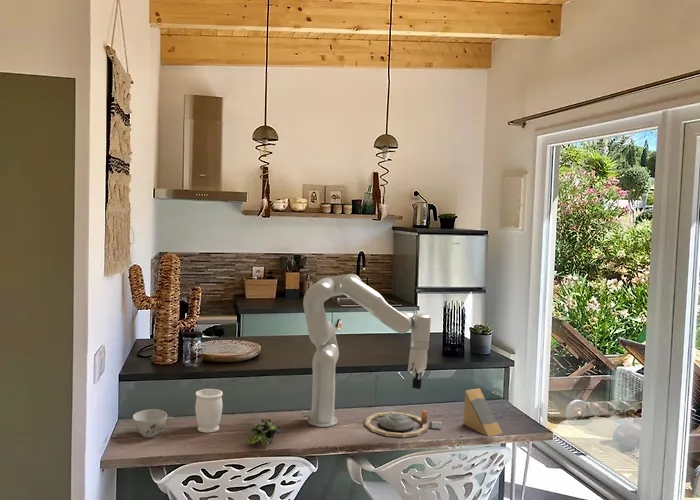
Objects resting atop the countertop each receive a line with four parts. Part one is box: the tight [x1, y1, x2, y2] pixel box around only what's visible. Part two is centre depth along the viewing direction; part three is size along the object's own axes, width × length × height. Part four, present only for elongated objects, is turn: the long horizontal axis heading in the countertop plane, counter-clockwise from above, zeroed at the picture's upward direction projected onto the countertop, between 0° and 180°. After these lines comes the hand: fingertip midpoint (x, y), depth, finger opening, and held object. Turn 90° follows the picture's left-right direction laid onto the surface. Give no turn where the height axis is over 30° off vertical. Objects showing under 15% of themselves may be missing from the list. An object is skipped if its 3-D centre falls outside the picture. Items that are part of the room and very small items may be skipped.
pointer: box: [428, 420, 443, 430], centre depth 252 cm, size 5×2×2 cm, turn 86°
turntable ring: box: [364, 409, 428, 438], centre depth 253 cm, size 26×26×6 cm
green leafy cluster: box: [246, 418, 282, 449], centre depth 228 cm, size 11×11×12 cm
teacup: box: [132, 408, 174, 438], centre depth 233 cm, size 15×12×8 cm
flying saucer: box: [378, 413, 415, 432], centre depth 253 cm, size 15×15×6 cm
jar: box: [194, 388, 223, 434], centre depth 240 cm, size 11×10×15 cm
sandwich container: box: [463, 387, 503, 437], centre depth 253 cm, size 9×15×15 cm, turn 31°
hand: (416, 387), depth 248 cm, fingers closed
